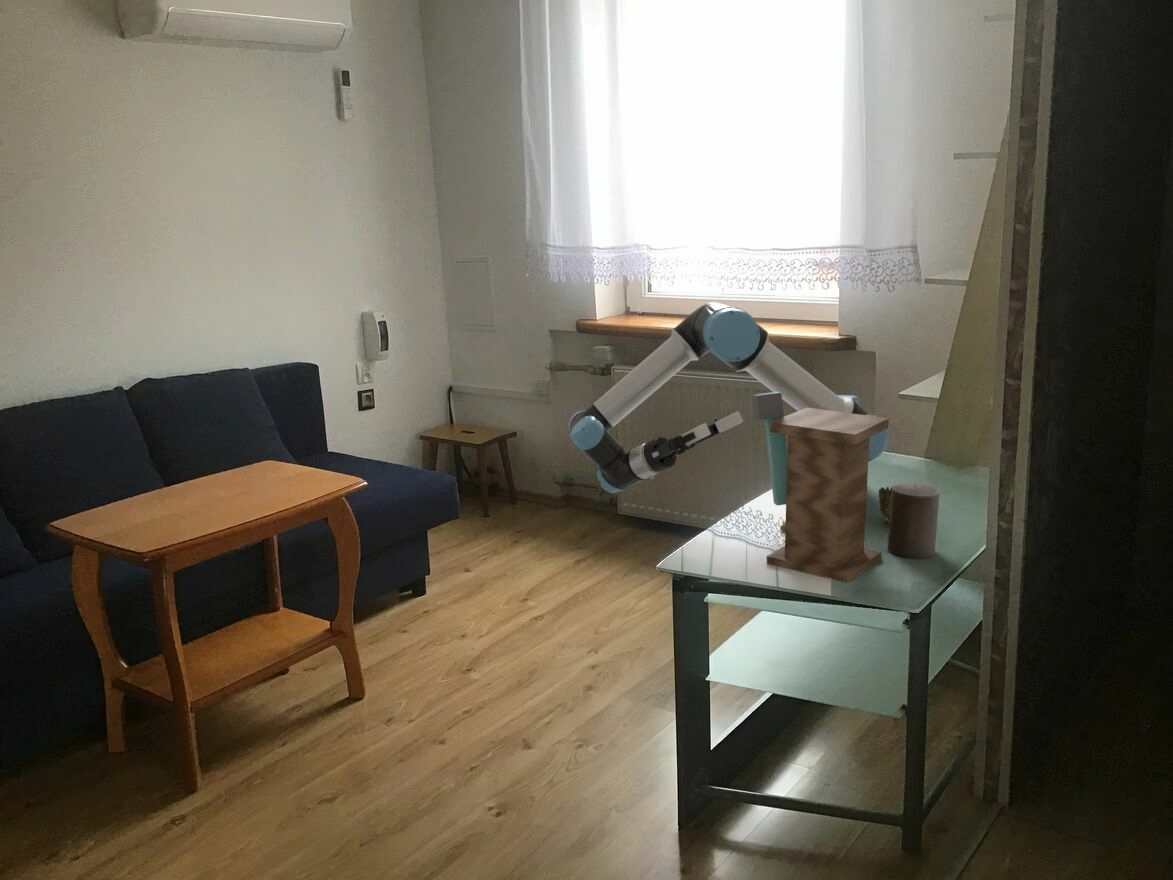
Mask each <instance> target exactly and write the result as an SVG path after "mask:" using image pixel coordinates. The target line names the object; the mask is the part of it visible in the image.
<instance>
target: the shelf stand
mask: <svg viewBox="0 0 1173 880" xmlns="http://www.w3.org/2000/svg"><path fill="white" fill-rule="evenodd" d="M875 416H876V415H875ZM875 416H867V415H859V414H852V413H844V412H837V411H829V410H821V409H814V408H805V409H802V410H800V411H797V410H796V411H795V412H793V413H790V414H788V415H784V417H782V418H780V419H777V420H775V421H772V422H770V432H773V433H780V434H785V435H787V490H786V504H785V521H786V523H785V532H784V545H783V546H781V547H780V548H777V550H775V551H774V552H771V553H769V554H768V555H766V564H767V565H771V566H775V567H780V568H784V569H788V570H793V571H796V572H801V573H805V574H810V575H814V576H819V577H822V578H826V577H827V579H830V578H832V579H831V580H834V579H836V580H835V581H840V582H843V581H844V583H847V582H849V583H850V582H851V581H853V580H854V579H855V577H856V578H857V577H858V576H860V575H861V574H862V573H864V572H865V571H867V570H868V569H869V568H870V566H871V565H872V566H873V565H874V563H875V562H876V563H878V562H879V561H881V559H882V551H880V550H876V549H870V548H867V547H865V535H866V533H865V532H866V518H867V517H866V515H867V513H866V512H867V495H868V494H867V492H868V475H869V462H868V458H869V438H870V437H871V436H873V435H875V434H877V433H879V432H881V431H883V430H885V429H889V423H890V421H889V419H890V418H888V417H882V416H881V417H880V416H878V417H875ZM877 561H878V562H877ZM876 563H875V564H876ZM872 566H871V567H872ZM866 569H867V570H866ZM863 571H864V572H863Z"/></svg>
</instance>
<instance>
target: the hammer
mask: <svg viewBox="0 0 1173 880" xmlns="http://www.w3.org/2000/svg"><path fill="white" fill-rule="evenodd" d="M751 397H752V404H753V413H754V414H753V415H754V419H755V420H756V421H757V420H758V421H764V426H765V427H764V428H765V436H766V437H765V438H766V443H767V444H766V445H767V454H768V462H769V471H770V480H771V489H772V490H771V491H772V497H773V498H772V499H773V504H774V505H776V506H784V505H785V506H786V490H787V457H788V447H787V442H786V441H787V439H786V434H780V433H773V432H770V422H772V421H775V420H777V419H780V418H782V417H785V415H784V407H783V405H784V404H783V399H782V395H781V392H773V391H771V392H764V393H757V394H751Z"/></svg>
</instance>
